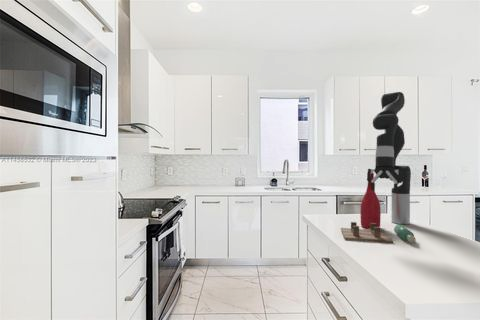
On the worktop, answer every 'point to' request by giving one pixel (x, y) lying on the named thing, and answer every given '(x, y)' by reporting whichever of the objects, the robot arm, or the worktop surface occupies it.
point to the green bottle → (404, 233)
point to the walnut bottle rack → (365, 234)
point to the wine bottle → (370, 207)
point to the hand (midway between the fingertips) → (383, 191)
